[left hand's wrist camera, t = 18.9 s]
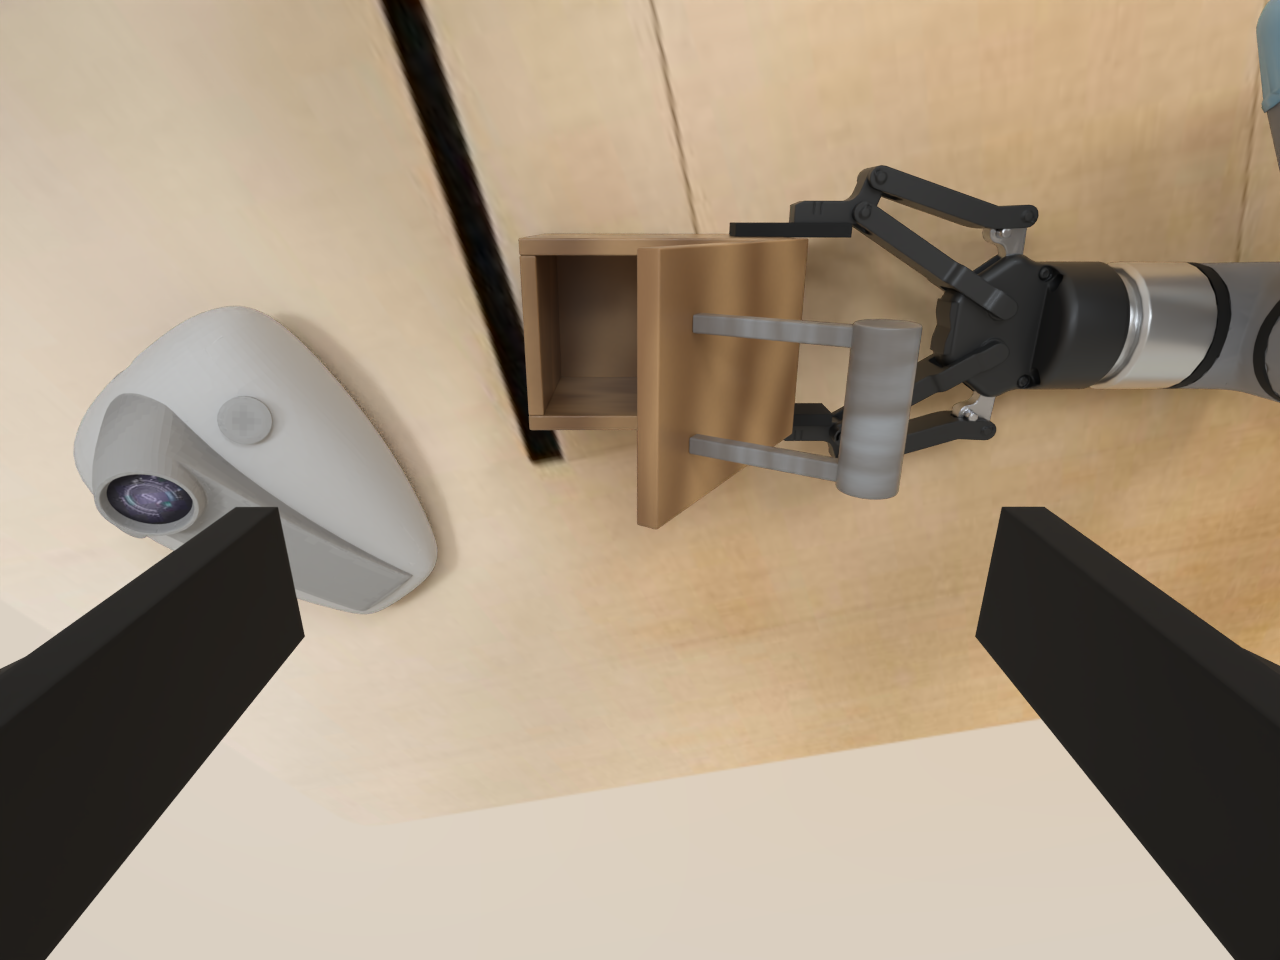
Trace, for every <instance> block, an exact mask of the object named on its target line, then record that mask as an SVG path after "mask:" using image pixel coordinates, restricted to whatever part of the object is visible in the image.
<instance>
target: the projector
mask: <svg viewBox="0 0 1280 960" xmlns="http://www.w3.org/2000/svg"><path fill="white" fill-rule="evenodd" d="M74 459H75V464H76V468H77V470H78V472H79V474H80V476H81V478H82V480H83V482H84V483H85V484H86V486H87V487H88V488H89V490H90V491H91V493H92V494H93V495H94V500H95V504H96V507H97V509H98V511H99V512H100V514H101V515H102V516H103V517H104V518H105V519H106V520H108V521H109V522H110V523H112V524H113V525H115V526H116V527H117V528H119V529H120V530H122V531H123V532H125V533H127V534H129V535H131V536H133V537H137V538H145V537H146V536H147V537H149V538H151V539H152V540H154V541H156V542H157V543H159V544H161V545H163V546H165V547H167V548H169V549H171V550H173V551H175V550H176V549H177V548H179V547H180V546H182V545H183V544H184V543H186V542H187V541H189V540H190V539H191V538H193V537H194V536H196V535H197V534H198V533H200V532H201V531H203V530H204V529H205V528H207V527H208V526H210V525H211V524H212V523H214V522H215V521H217V520H218V519H219V518H221V517H222V516H224V515H225V514H227V513H228V512H229V511H231V510H232V509H234V508H235V507H278V509H279V514H280V519H281V524H282V529H283V533H284V538H285V543H286V548H287V553H288V558H289V563H290V567H291V572H292V577H293V582H294V587H295V592H296V597H297V598H298V599H301V600H304V601H308V602H311V603H314V604H318V605H322V606H325V607H329V608H333V609H337V610H341V611H346V612H350V613H356V614H371V613H375V612H378V611H380V610H382V609H384V608H386V607H388V606H390V605H392V604H393V603H395V602H396V601H398V600H399V599H401V598H402V597H404V596H405V595H407V594H408V593H409V592H411V591H412V590H413V589H415V588H416V587H417V586H419V585H420V584H421V583H422V582H423V581H424V580H425V579H426V578H427V577H428V576H429V575H430V573H431V572H432V570H433V569H434V566H435V564H436V560H437V553H438V548H437V543H436V540H435V537H434V534H433V531H432V528H431V526H430V523H429V521H428V519H427V516H426V514H425V512H424V510H423V508H422V506H421V504H420V502H419V500H418V498H417V496H416V494H415V492H414V490H413V488H412V486H411V485H410V483H409V481H408V479H407V477H406V475H405V474H404V472H403V470H402V469H401V467H400V465H399V464H398V462H397V460H396V459H395V457H394V455H393V454H392V452H391V451H390V449H389V448H388V446H387V445H386V443H385V442H384V440H383V439H382V437H381V436H380V435H379V433H378V432H377V430H376V429H375V428H374V426H373V425H372V423H371V422H370V421H369V419H368V418H367V417H366V415H365V414H364V413H363V412H362V410H361V409H360V408H359V406H358V405H357V404H356V402H355V401H354V400H353V399H352V397H351V396H350V395H349V394H348V393H347V391H346V390H345V389H344V388H343V387H342V385H341V384H340V383H339V382H338V381H337V379H336V378H335V377H334V376H333V375H332V374H331V373H330V371H329V370H328V369H327V368H326V367H325V366H324V365H323V364H322V362H321V361H320V360H319V359H318V358H317V357H316V356H315V355H314V354H313V353H312V352H311V351H310V350H309V349H308V348H307V347H306V346H305V345H304V344H303V343H302V342H301V341H300V340H299V339H298V338H297V337H296V336H295V335H294V334H292V333H291V332H290V331H289V330H288V329H286V328H285V327H284V326H283V325H281V324H280V323H279V322H277V321H276V320H274V319H273V318H271V317H270V316H268V315H266V314H264V313H262V312H260V311H258V310H255V309H252V308H247V307H242V306H227V307H221V308H217V309H212V310H209V311H206V312H203V313H200V314H198V315H196V316H194V317H191V318H189V319H187V320H185V321H184V322H182V323H180V324H179V325H177V326H175V327H174V328H173V329H171V330H170V331H168V332H167V333H165V334H164V335H163V336H161V337H160V338H159V339H158V340H156V341H155V342H154V343H153V344H151V345H150V346H149V347H148V348H147V349H145V350H144V351H143V352H142V353H140V354H139V355H138V356H137V357H136V358H135V359H134V361H133V362H132V363H131V365H130V366H129V367H128V368H126V369H125V370H124V371H122V372H120V373H119V374H118V375H117V376H116V377H115V378H114V379H113V380H112V381H111V382H110V383H109V384H108V385H107V386H106V387H105V388H104V389H103V391H102V392H101V393H100V394H99V395H98V396H97V398H96V399H95V400H94V402H93V403H92V404H91V406H90V407H89V408H88V410H87V412H86V413H85V415H84V417H83V419H82V421H81V423H80V426H79V428H78V431H77V434H76V438H75V442H74Z"/></svg>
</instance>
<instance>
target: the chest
mask: <svg viewBox="0 0 1280 960" xmlns="http://www.w3.org/2000/svg"><path fill="white" fill-rule="evenodd" d="M775 239H791V238H789V237H734V236H729V234H541V235H535V236H529V237H523V238H519V253H520V255H521V256H520V271H521V288H522V306H523V323H524V340H525V357H526V374H527V391H528V408H529V415H530V416H529V425H530V430H637V249H638V248H643V247H660V246H676V245H693V244H709V243H725V242H742V241H758V240H775Z"/></svg>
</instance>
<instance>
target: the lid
mask: <svg viewBox="0 0 1280 960" xmlns="http://www.w3.org/2000/svg"><path fill="white" fill-rule="evenodd" d="M807 249H808V239H796V238H791V239H775V240H758V241H742V242H725V243H709V244H693V245H676V246H660V247H643V248H638V249H637V524H638V525H641V526H645V527H648V528H652V529H658V528H660V527H661V526H663V525H664V524H665V523H667V522H668V521H670V520H671V519H672V518H674V517H675V516H677V515H678V514H679V513H681V512H682V511H684V510H685V509H686V508H688V507H689V506H691V505H692V504H693V503H695V502H696V501H698V500H699V499H701V498H702V497H703V496H705V495H706V494H708V493H709V492H710V491H712V490H713V489H715V488H716V487H717V486H719V485H720V484H722V483H723V482H724V481H726V480H727V479H729V478H730V477H731V476H733V475H734V474H736V473H737V472H739V471H740V470H741V469H743V468H744V467H746V466H747V465H751V466H757V467H762V468H767V469H772V470H778V471H783V472H788V473H793V474H799V475H804V476H809V477H814V478H819V479H825V480H830V481H835V482H836V487H837V489H838V490H839V491H841V492H843V493H845V494H847V495H850V496H853V497H858V498H863V499H887V498H891V497H894V496H895V495H896V494H897V493H898V491H899V484H900V477H901V470H902V463H903V456H904V450H905V443H906V436H907V429H908V422H909V416H910V409H911V402H912V395H913V388H914V381H915V375H916V368H917V361H918V354H919V347H920V340H921V334H922V325H920V324H918V323H915V322H910V321H902V320H889V319H867V320H859V321H856V322H854V324H842V323H829V322H816V321H803V320H802V308H803V297H804V285H805V273H806V261H807ZM800 343H805V344H816V345H826V346H837V347H848V348H850V357H849V366H848V375H847V384H846V393H845V403H844V412H843V421H842V430H841V439H840V448H839V457H838V458H833V457H827V456H822V455H816V454H810V453H805V452H799V451H793V450H787V449H782V448H776V447H774V446H775V445H777V444H778V443H779V442H781V441H782V440H784V439H785V438H786V437H788V436H789V435H791V434H792V427H793V415H794V404H795V392H796V380H797V368H798V356H799V344H800Z"/></svg>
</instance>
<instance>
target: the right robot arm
mask: <svg viewBox="0 0 1280 960" xmlns="http://www.w3.org/2000/svg"><path fill="white" fill-rule="evenodd" d="M1256 34H1257V44H1258V53H1259V63H1260V73H1261V82H1262V92H1263V101H1262V109H1263V111H1264V113H1265V112H1267V115H1268V120H1269V124H1270V129H1271V133H1272V138H1273V142H1274V147H1275V152H1276V156H1277V161H1278V165H1279V170H1280V0H1270V1H1269V2H1268V3H1267V4H1266V6H1265V8H1264V9H1263V11H1262V13H1261V15H1260V17H1259V19H1258V23H1257V28H1256ZM881 197H883V198H886V199H889V200H892V201H895V202H897V203H900V204H903V205H906V206H909V207H912V208H914V209H917V210H920V211H923V212H926V213H929V214H932V215H934V216H937V217H940V218H943V219H946V220H949V221H951V222H954V223H957V224H960V225H963V226H967V227H971V228H983V232H982V234H983V238H984V239H985V241H987V242H989V243H993V244H995V245H996V246H997V248H998V255H996V256H994V257H993V258H991V259H990V260H988V261H987V262H985V263H984V264H982V265H981V266H979V267H978V268H976V269H975V270H974V271H971V270H970V269H969V268H967V267H965V266H964V265H961V264H959V263H957V262H956V261H954V260H953V259H951V258H950V257H948V256H947V255H946V254H944V253H943V252H941V251H940V250H938V249H937V248H936V247H934V246H933V245H931V244H930V243H928V242H927V241H926V240H924V239H923V238H921V237H920V236H918V235H917V234H916V233H914V232H913V231H911V230H910V229H908V228H907V227H906V226H904V225H903V224H901V223H900V222H898V221H897V220H896V219H894V218H893V217H891V216H890V215H889V214H887V213H886V212H884V211H883V210H881V209H880V208H879V207H877V204H878V202H879V200H880V198H881ZM1037 219H1038V210H1037V208H1036V207H1035V206H1033V205H1011V206H996V205H994V204H991V203H988V202H985V201H982V200H980V199H977V198H974V197H971V196H969V195H966V194H963V193H960V192H957V191H955V190H952V189H949V188H946V187H943V186H941V185H938V184H935V183H932V182H929V181H927V180H924V179H921V178H918V177H915V176H913V175H910V174H907V173H904V172H901V171H899V170H896V169H893V168H890V167H887V166H883V165H881V166H876V167H871V168H867V169H864V170H862V171H861V172H860V173H859V175H858V178H857V185H856V187H855V189H854V191H853V193H852V195H851V196H850V197H849V198H848V199H846V200H844V201H799V202H797V203H794V204H792V205H790V217H789V223H730V232H729V236H734V237H851V233H852V227H854V228H855V229H857V230H858V231H860V232H861V233H863V234H864V235H865V236H867V237H868V238H870V239H871V240H873V241H874V242H876V243H877V244H878V245H880V246H881V247H883V248H884V249H886V250H887V251H889V252H890V253H892V254H893V255H894V256H896V257H897V258H899V259H900V260H902V261H903V262H905V263H906V264H908V265H909V266H910V267H912V268H913V269H915V270H916V271H918V272H919V273H921V274H922V275H924V276H925V277H926V278H927V279H928V280H929V281H930V282H931V283H933V284H934V285H936V286H937V287H939V288H940V289H942V290H943V291H945V293H944V294H943V296H942V298H941V299H938V301H937V307H936V317H937V326H936V329H935V331H934V333H933V336H932V340H931V347H930V349H931V350H933V352H934V354H932V355H930V356H928V357H927V358H925V359H923V360H921V361H919V362H918V363H917V368H916V375H915V381H914V388H913V395H912V402H911V406H912V405H914V404H916V403H918V402H920V401H921V400H923V399H925V398H927V397H929V396H931V395H933V394H935V393H937V392H943V391H947V390H949V389H951V388H953V387H954V386H956V385H958V384H960V383H964V384H965V385H966V386H967V387H969V388H970V389H971V390H972V391H974V392H973V395H972V396H971V398H970V399H968V400H967V401H964V402H959V403H957V404H955V405H954V406H953V408H952V409H953V410H952V411H940V412H935V413H931V414H928V415H924V416H921V417H917V418H914V419H910V420H909V422H908V429H907V436H906V443H905V450H904V454H906V453H910V452H914V451H917V450H921V449H924V448H928V447H931V446H935V445H938V444H942V443H945V442H949V441H952V440H956V439H970V440H988V439H990V438H992V437H993V436H994V435H995V433H996V426H995V424H993V423H992V422H990V417H991V413H992V409H993V405H994V400H995V397H996V396H999V395H1001V394H1003V393H1005V392H1007V391H1010V390H1014V389H1084V388H1087V387H1091V388H1093V389H1161V388H1193V389H1225V390H1234V391H1240V392H1245V393H1249V394H1252V395H1255V396H1259V397H1262V398H1266V399H1269V400H1273V401H1276V402H1280V262H1237V263H1189V262H1112V263H1108V264H1105V263H1102V262H1035V261H1033V260H1031V259H1029V258H1028V257H1026V256H1025V255H1023V250H1024V243H1025V237H1026V230H1027V228H1028V227H1031V226H1032V225H1034V224H1035V222H1036V221H1037ZM843 412H844V406H843V407H842V408H840V409H838V410H836V411H834V412H833V413H831V412H830V411H829V410H828V409H827V408H826V407H825V406H824V405H823V404H822V403H795V404H794V415H793V427H792V434H791V435H789V436H788V437H786V438H785V439H784V440H785V441H826V442H828V446H829V453H830V455H831V456H832V457H833V458H838V457H839V448H840V439H841V430H842V421H843Z"/></svg>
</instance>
